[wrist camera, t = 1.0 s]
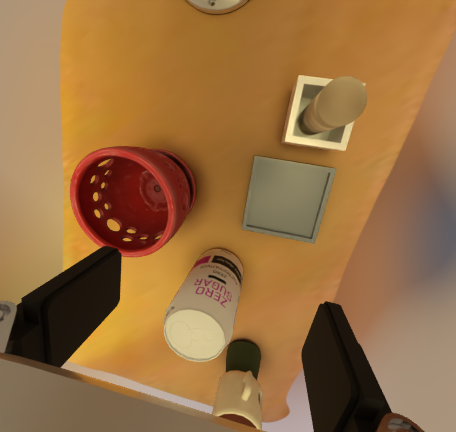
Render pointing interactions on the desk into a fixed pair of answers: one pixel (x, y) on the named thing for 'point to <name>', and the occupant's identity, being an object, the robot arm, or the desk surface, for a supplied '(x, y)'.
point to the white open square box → (299, 99)
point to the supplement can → (205, 307)
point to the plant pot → (132, 197)
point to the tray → (287, 198)
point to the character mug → (240, 386)
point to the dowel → (334, 106)
